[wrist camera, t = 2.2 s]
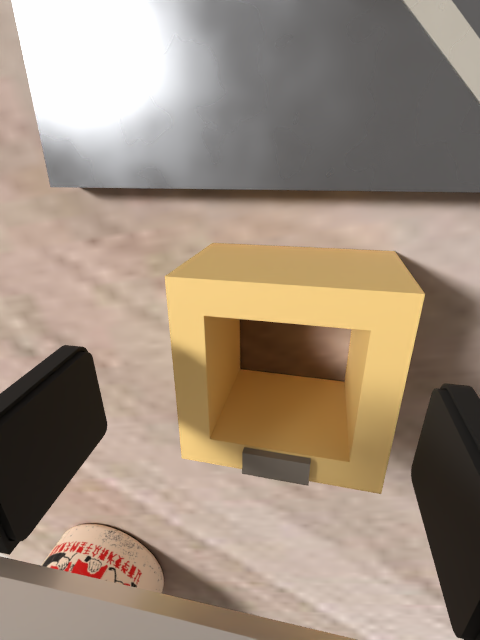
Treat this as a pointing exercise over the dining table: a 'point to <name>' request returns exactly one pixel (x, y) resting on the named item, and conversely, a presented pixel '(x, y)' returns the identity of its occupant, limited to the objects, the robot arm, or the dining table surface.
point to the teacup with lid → (106, 557)
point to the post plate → (256, 93)
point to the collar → (287, 390)
